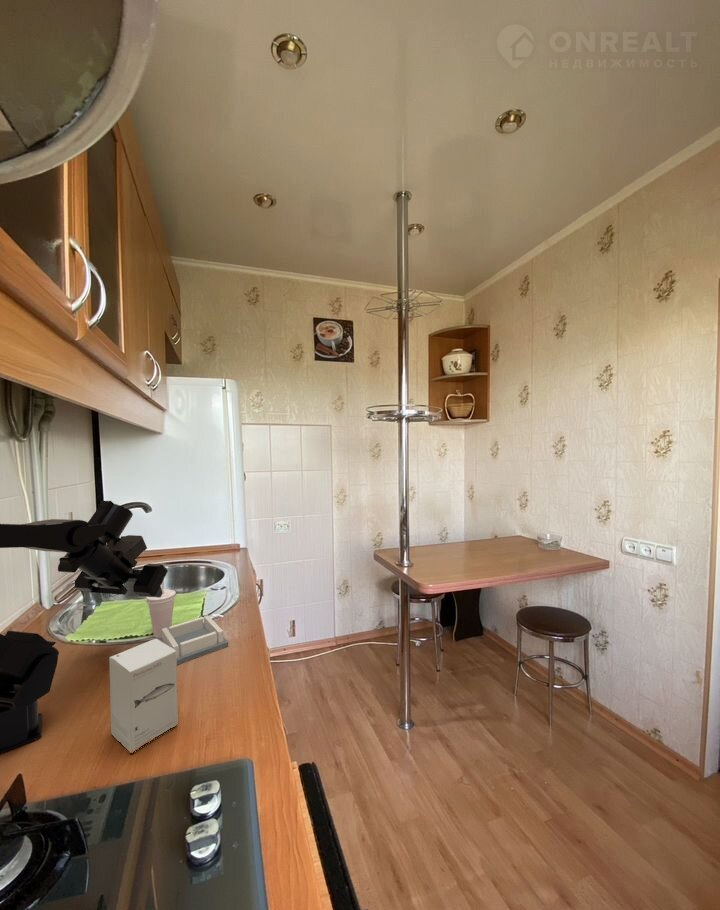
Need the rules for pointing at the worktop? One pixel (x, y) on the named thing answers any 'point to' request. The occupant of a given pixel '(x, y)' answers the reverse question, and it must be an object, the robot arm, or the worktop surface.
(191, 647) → the bottle holder
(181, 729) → the worktop surface
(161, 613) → the smoothie
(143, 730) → the supplement box
